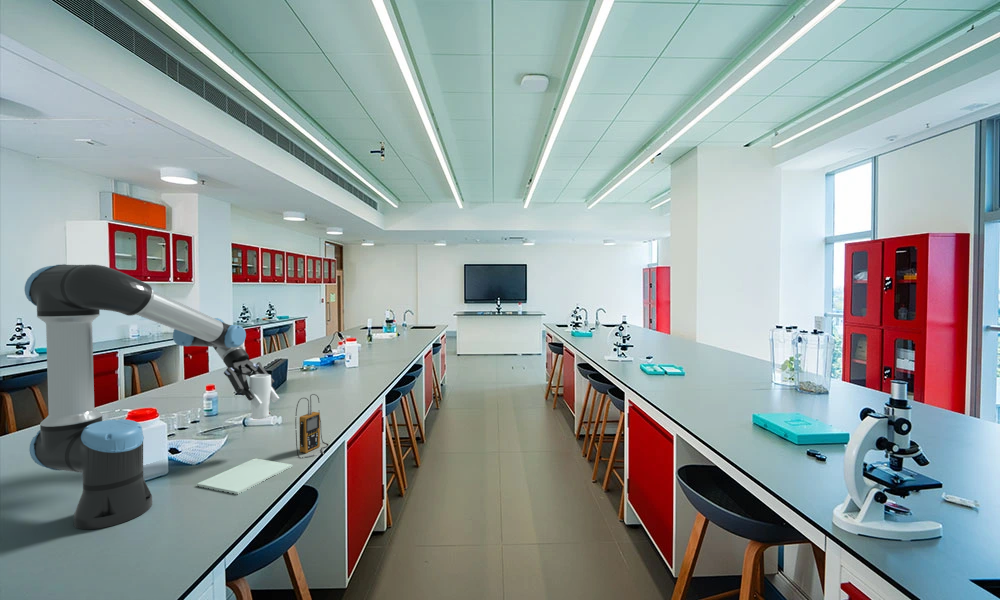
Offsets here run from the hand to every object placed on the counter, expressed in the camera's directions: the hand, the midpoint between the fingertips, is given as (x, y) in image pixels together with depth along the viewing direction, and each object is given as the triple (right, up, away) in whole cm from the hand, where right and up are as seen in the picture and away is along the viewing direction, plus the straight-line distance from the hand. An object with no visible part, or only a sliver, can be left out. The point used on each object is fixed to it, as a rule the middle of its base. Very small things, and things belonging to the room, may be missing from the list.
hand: (268, 403), depth 150 cm
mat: (+3, -19, -17) cm, 25 cm away
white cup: (-3, -6, +1) cm, 7 cm away
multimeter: (+16, -19, +4) cm, 25 cm away
